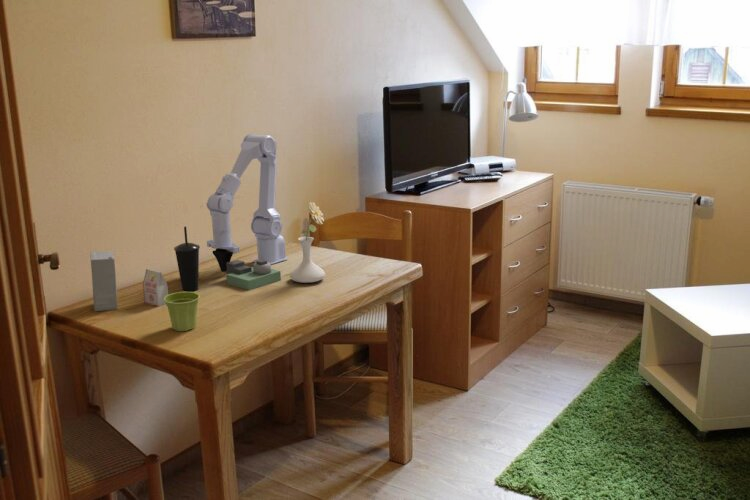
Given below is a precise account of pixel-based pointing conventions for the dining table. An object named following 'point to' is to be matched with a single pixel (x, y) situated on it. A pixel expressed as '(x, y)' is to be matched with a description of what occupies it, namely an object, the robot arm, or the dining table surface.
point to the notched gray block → (238, 267)
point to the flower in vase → (307, 268)
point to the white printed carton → (154, 288)
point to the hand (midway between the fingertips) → (224, 270)
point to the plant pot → (182, 310)
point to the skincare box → (104, 280)
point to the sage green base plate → (255, 276)
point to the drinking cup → (188, 264)
